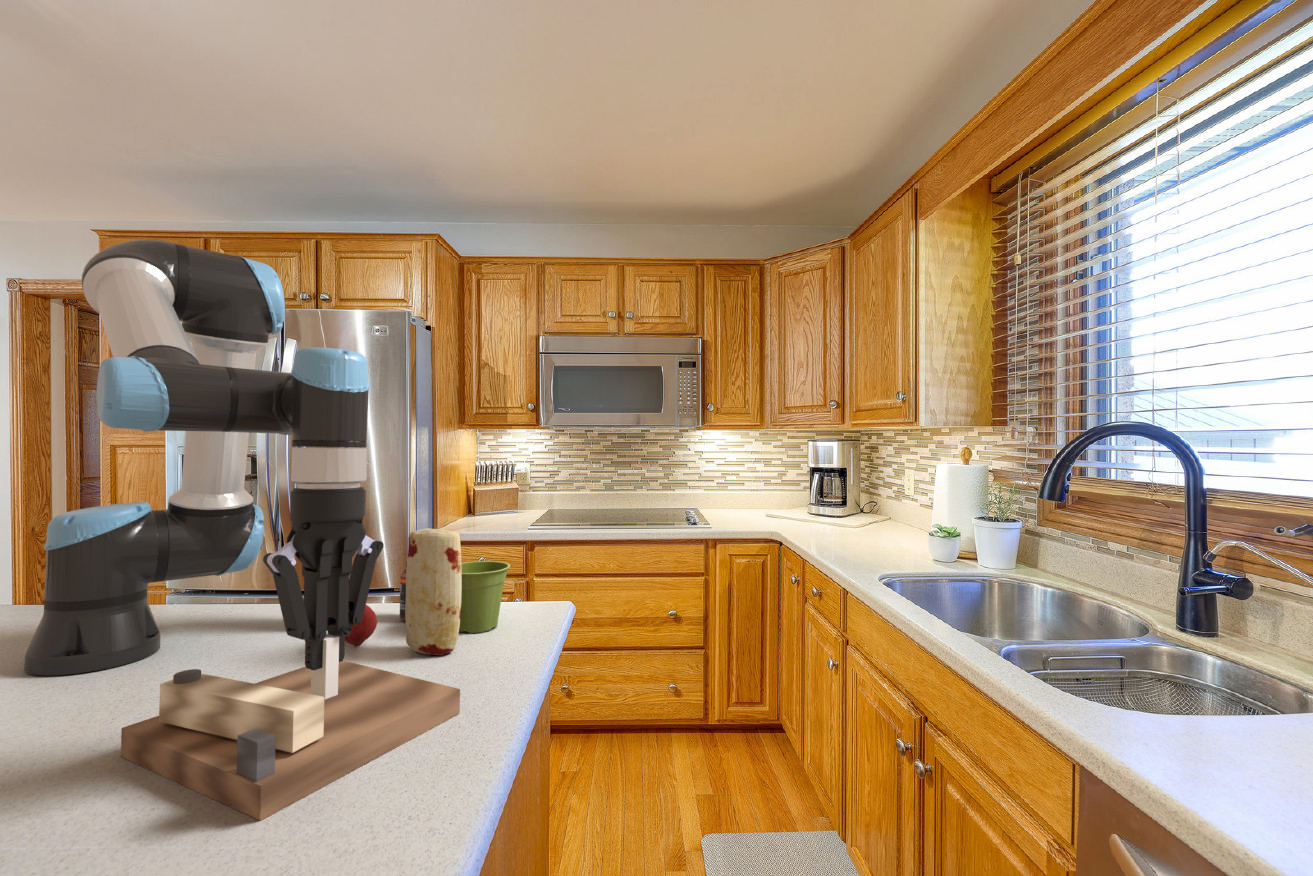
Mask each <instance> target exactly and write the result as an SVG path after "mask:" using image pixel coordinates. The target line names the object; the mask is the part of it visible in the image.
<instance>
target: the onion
mask: <svg viewBox="0 0 1313 876" xmlns="http://www.w3.org/2000/svg"><path fill="white" fill-rule="evenodd" d="M377 624H378V617H377V615H376V613H375V611H374V610H373V609H372V608H371V607H370V606H369V605H368V604H366V606H365V610H364V614H363V619H362V622H361V623H360V624H359V625H354V626H352V627H351V628H350V629H352V632H351V633H350V634H349V635H348V636H345V643H347V644H349V645H351V646H353V647H354V648H355V647H356V648H357V647H360V646H362V645H363V644H364V642H366V640H368V639H369V638H370V637H371V636H372V635H373V634H374V632H375V631H376V628H377Z"/></svg>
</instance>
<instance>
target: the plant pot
mask: <svg viewBox="0 0 1313 876" xmlns="http://www.w3.org/2000/svg"><path fill="white" fill-rule="evenodd" d="M510 568H511V564H510V563H507V562H505V561H500V560H499V561H498V560H497V561H495V560H476V561H465V562H461V571H462V593H461V615H460V627H459V632H460V633H462V632H468V633H471V634H478V633H486V632H488V631H491V630H492V629H494V628H496V627H498V622H499V621H498V620H499V616H500V610H501V609H500V608H501V603H502V596H503V590H504V585H505V581H506V578H507V573H508V570H509V569H510Z"/></svg>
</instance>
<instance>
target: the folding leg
mask: <svg viewBox="0 0 1313 876" xmlns="http://www.w3.org/2000/svg"><path fill="white" fill-rule="evenodd" d="M172 676H173V677H172V679H170V680H168V681H165V682H161V683H160V684H159V712H158V713H159V714H158V716H159V722H163V723H167V724H172V725H176V726H180V727H184V728H189V729H193V730H197V731H201V732H206V733H210V734H214V735H219V736H223V737H227V738H231V739H236V740H237V737H238V735H239V734H242V733H244V732H247V731H249V730H252V729H254V728H257V729H260V730H263V731H266V732H269V733H272V734H274V735H276V743H275V749H278V750H283V751H287V752H291V753H293V752H295V751H297V750H299V749H301V748H303V747H304V746H306V745H308V744H310V743H312V742H314V741H316V740H318V739H320V738H321V737H323V734H324V697H322V696H317V695H312V694H306V693H301V692H296V691H291V690H285V689H280V688H275V687H270V686H264V685H259V684H255V683H253V682H248V681H242V680H237V679H232V678H226V677H221V676H216V675H210V674H205V673H202V670H201V669H195V668H194V669H193V668H192V669H185V670H182V671H181V670H180V671H179V672H176V673H175V674H173V675H172Z"/></svg>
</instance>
